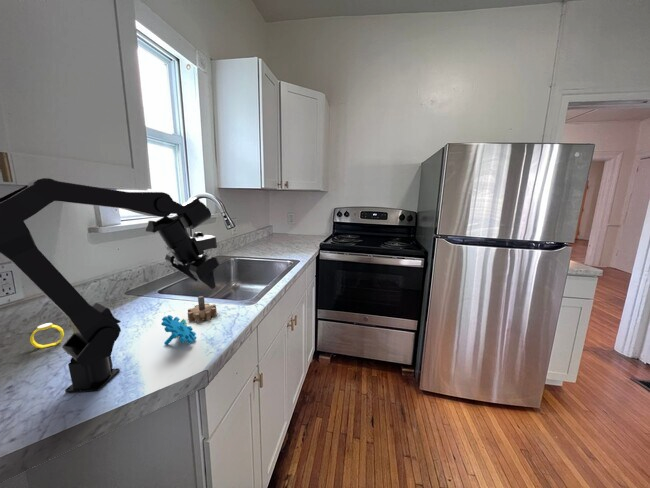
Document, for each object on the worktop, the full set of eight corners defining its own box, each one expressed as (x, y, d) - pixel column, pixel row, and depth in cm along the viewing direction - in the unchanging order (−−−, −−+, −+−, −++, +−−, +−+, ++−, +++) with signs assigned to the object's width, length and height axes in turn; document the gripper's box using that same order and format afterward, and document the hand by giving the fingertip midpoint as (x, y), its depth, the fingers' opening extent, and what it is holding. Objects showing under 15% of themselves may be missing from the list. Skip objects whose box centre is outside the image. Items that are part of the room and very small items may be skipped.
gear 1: (193, 344, 66) (159, 320, 64) (175, 363, 66) (141, 339, 64) (202, 329, 77) (173, 308, 75) (187, 345, 76) (157, 324, 74)
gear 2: (211, 321, 82) (209, 301, 81) (183, 322, 81) (180, 302, 80) (220, 309, 90) (219, 291, 89) (194, 310, 90) (192, 292, 89)
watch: (32, 353, 67) (25, 331, 66) (36, 348, 69) (29, 327, 68) (64, 343, 70) (58, 323, 69) (67, 339, 72) (60, 319, 71)
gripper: (222, 226, 67) (246, 273, 75) (187, 219, 78) (211, 261, 86) (183, 251, 60) (213, 300, 68) (151, 239, 72) (180, 282, 80)
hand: (205, 283), depth 76 cm, fingers open, 9 cm apart
